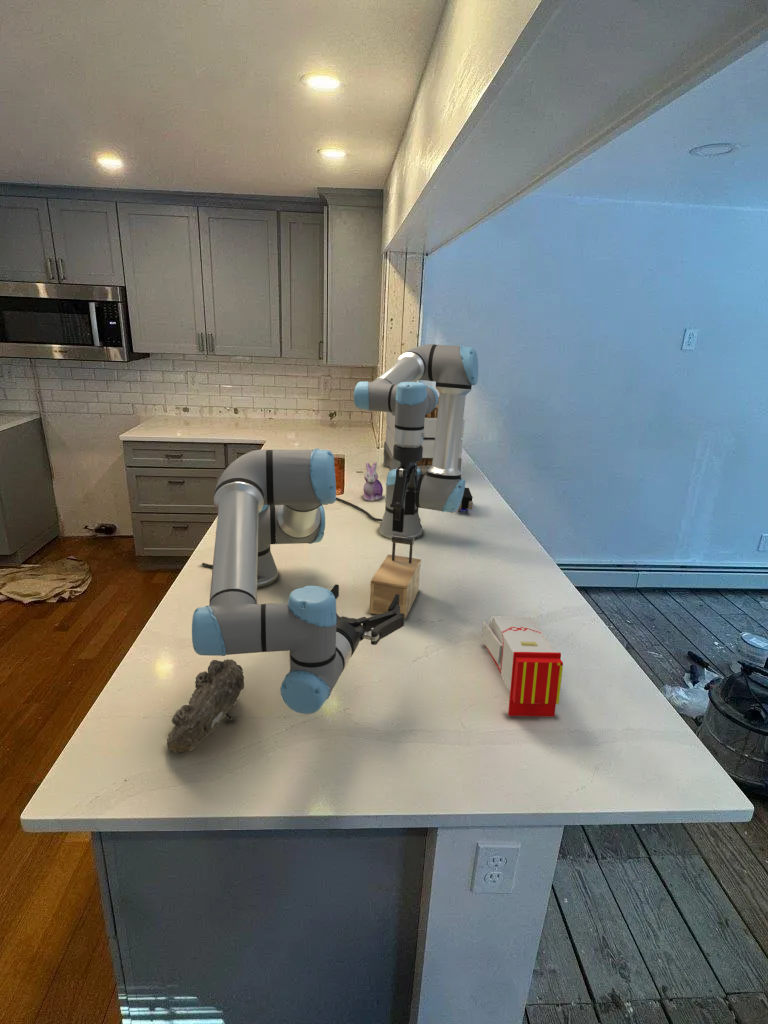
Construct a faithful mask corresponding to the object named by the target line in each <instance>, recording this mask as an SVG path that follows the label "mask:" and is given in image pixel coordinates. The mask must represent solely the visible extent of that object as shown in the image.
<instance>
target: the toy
mask: <svg viewBox="0 0 768 1024" xmlns="http://www.w3.org/2000/svg"><path fill="white" fill-rule="evenodd" d="M481 632H482V633H481V640H482V642H483V644H484V646H485V648H486V650H487V652H488V654H489V655H490V657H491V659H492V661H493V663H494V664H495V666H496V668H497V670H498V671H499V674H500V676H501V678H502V680H503V682H504V684H505V687H506V688H507V690H508V692H509V700H508V702H509V703H508V710H507V711H508V712H507V715H508V717H551V718H552V717H553V718H555V716H556V707H557V705H559V704H560V698H561V697H560V695H561V688H562V687H561V686H562V678H563V669H564V662H563V661H562V653H561V652H556V651H555V649H554V648H553V647H552V645H551V644H550V643H549V641H548V639H547V638H546V637H545V635H544V634H543V633H542V631H541V630H540V629H539V628H538V626H537V624H536V622H535V621H534V620H533V619H532V617H531V616H514V615H513V616H512V615H511V616H508V615H507V616H506V615H505V616H504V615H492V618H489V620H488V623H487V621H483V623H482V631H481Z"/></svg>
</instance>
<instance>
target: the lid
mask: <svg viewBox="0 0 768 1024" xmlns="http://www.w3.org/2000/svg"><path fill="white" fill-rule="evenodd" d="M414 542H415V539H414V537H409V536H402V535H395V534H393V535H392V539H391V543H392V550H391V554H387V555H386V557H385V558H384V560H383V561H382V563H381V564H380V566H379V568H378V569H377V570H376V572H375V573H374V575H373V576H372V578H371V579H370V584H371V583H375V584H381V585H387V586H393V587H399V588H405V589H407V588H408V586H409V584H410V582H411V580H412V578H413V576H414V574H415V572H416V571H417V569H418V567H419V565H420V566H421V563H422V559H420V558H414V557H413V547H414V544H415V543H414ZM396 544H402V545H408V546H409V552H408V553H409V555H408V557H407V556H401V555H396V547H397V546H396Z"/></svg>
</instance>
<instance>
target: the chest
mask: <svg viewBox="0 0 768 1024" xmlns="http://www.w3.org/2000/svg"><path fill="white" fill-rule="evenodd" d="M420 575H421V564H420V565H419V567H418V569H417V571H416V572H415V574H414V576H413V578H412V580H411V582H410V584H409V586H408V588H407V589H405V588H399V587H393V586H387V585H381V584H375V583H371V582H370V591H369V614H373V615H379V614H382V613H385V612H388V608H389V606H390V604H391V603H392V601H393V599H394V597H395V595H396V594H398V595H399V605H400V613H403V614H404V615H405V616H404V620H406V618H407V617H408V615H409V612H410V611H411V608H412V606H413V605H414V602H415V600H416V598H417V595H418V593H419V588H420Z"/></svg>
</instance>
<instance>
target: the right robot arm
mask: <svg viewBox="0 0 768 1024" xmlns="http://www.w3.org/2000/svg"><path fill="white" fill-rule="evenodd" d="M478 378H479V358H478V353H477V351H476V349H475V348H474V347H471V346H464V345H451V344H450V345H449V344H434V343H429V344H422V345H418V346H415V347H412V348H410V349H408V350H406V351H404V352H403V353H402V354H400V355H399V356H398V358H397V359H396V361H395V363H394V364H393V365H392V366H391V367H389V368H388V369H387V370H385V371H384V372H383V373H382V374H380V375H379V376H378V377H376V378H375V379H374V380H373V381H368V380H366V381H359V382H357V383H356V384H355V387H354V390H353V391H354V392H353V403H354V406H355V407H356V408H357V409H359V410H365V411H368V412H369V411H370V412H372V411H373V412H382V413H386V412H393V413H395V427H394V443H395V445H394V447H393V458H394V459H395V460H397V461H399V462H400V463H401V464H400V467H398V468H396V469H393V470H391V471H390V470H389V472H388V473H387V475H386V482H385V504H384V505H385V507H384V508H385V509H384V513H383V515H382V518H376V517H374V516H373V515H372V514H370V513H369V512H368V511H367V510H366V509H363V508H362V507H359V506H358V505H356V504H354V503H351V502H349V501H347V500H345V499H343V498H339V497H337V496H336V501H338V502H342V503H344V504H346V505H349V506H351V507H352V508H355V509H357V510H359V511H361V512H362V513H364V514H365V515H367V516H368V518H369V519H371V520H373V521H375V522H379V527H378V533H379V534H380V535H381V536H382V537H385V538H387V539H389V540H392V535H393V534H395V535H402V536H409V537H414V540H415V539H418V538H420V537H421V536H422V535H423V525H422V524H421V518H420V515H419V509H424V510H432V511H437V512H441V513H444V512H446V513H455V512H457V511H458V510H457V509H458V508H459V506H460V503H461V500H462V497H463V494H464V490H465V488H466V480H465V479H464V478H462V471H461V472H460V471H459V469H458V460H459V451H460V442H461V440H462V438H461V433H462V425H463V419H464V417H465V416H464V415H465V406H466V397H467V395H468V394H469V393H471V392H472V387H473V386H475V385H477V384H478ZM419 381H425V382H435V388H434V387H432V386H431V385H427V384H425V383H423V382H419ZM436 390H437V391H438V392H437V391H436ZM438 393H439V394H438ZM438 397H439V403H438ZM437 403H438V413H437V423H436V432H435V442H434V452H433V461H432V465H430V466H429V468H427V469H426V474H425V473H422V470H421V468H419V467H418V466H417V462H419V461H421V460H422V453H423V447H422V446H421V444H423V437H425V436H426V433H423V431H424V422H425V415H426V414H429V413H430V412H432V411H433V410H434V408H435V407H436V406H437Z"/></svg>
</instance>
